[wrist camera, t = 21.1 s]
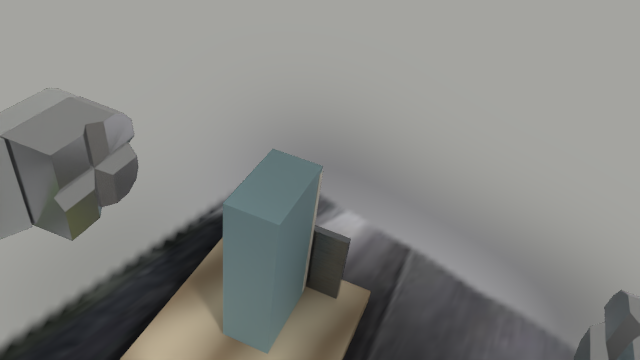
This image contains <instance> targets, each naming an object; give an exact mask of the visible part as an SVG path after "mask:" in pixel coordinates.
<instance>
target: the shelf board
mask: <svg viewBox="0 0 640 360" xmlns="http://www.w3.org/2000/svg"><path fill="white" fill-rule="evenodd" d="M370 293H371V291H369V290H366V289H364V288H361V287H359V286H356V285H354V284H351V283H349V282H346V281H344V280H342V281H341V286H340V290H339V295H338V297H337V299H335V298H333V297H330V296H328V295H325V294H323V293H320V292H318V291H316V290H313V289H311V288H308V287H306V286H305V288H304V292H303V294H302V295H301V297H300V299H299V300H298V302H297V304H296V306H295V307H294V309H293V311H292V312H291V314H290V316H289V318H288V319H287V321H286V323H285V325H284V326H283V328H282V330H281V331H280V333H279V335H278V337H277V338H276V340H275V342H274V344H273V345H272V347H271V349H270V350H269V352H268V354H266V353H264V352H262V351H260V350H258V349H255V348H253V347H251V346H249V345H247V344H244V343H242V342H240V341H238V340H236V339H233V338H231V337H229V336H227V335H225V334H223V237H222V239H221V240H220V241H219V242H218V243H217V245H216V246H215V247H214V248H213V249H212V250H211V252H210V253H209V254H208V255H207V256H206V258H205V259H204V260H203V261H202V262H201V264H200V265H199V266H198V267H197V268H196V270H195V271H194V272H193V273H192V274H191V275H190V277H189V278H188V279H187V280H186V281H185V283H184V284H183V285H182V286H181V287H180V289H179V290H178V291H177V292H176V293H175V295H174V296H173V297H172V298H171V299H170V300H169V302H168V303H167V304H166V305H165V306H164V308H163V309H162V310H161V311H160V312H159V314H158V315H157V316H156V317H155V318H154V320H153V321H152V322H151V323H150V324H149V325H148V327H147V328H146V329H145V330H144V331H143V333H142V334H141V335H140V336H139V337H138V339H137V340H136V341H135V342H134V343H133V345H132V346H131V347H130V348H129V349H128V350H127V352H126V353H125V354H124V355H123V356H122V358H121V359H120V360H343V358H344V356H345V354H346V351H347V349H348V347H349V344H350V342H351V340H352V337H353V335H354V333H355V331H356V328H357V326H358V324H359V321H360V319H361V317H362V315H363V312H364V310H365V308H366V305H367V303H368V300H369V297H370Z"/></svg>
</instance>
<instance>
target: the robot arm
mask: <svg viewBox="0 0 640 360" xmlns="http://www.w3.org/2000/svg"><path fill="white" fill-rule="evenodd" d="M133 137H134V131H133V125H132V120H131V119H130V118H129V117H128V116H127V115H125V114H124V113H122V112H119V111H116V110H114V109H111V108H109V107H106V106H104V105H101V104H98V103H96V102H93V101H90V100H88V99H85V98H83V97H78V96H76V95H74V94H71V93H68V92H65V91H63V90H60V89H55V88H46V89H44V90H43V91H41V92H39V93H37V94H35V95H33V96H31V97H29V98H27V99H25V100H23V101H21V102H19V103H17V104H15V105H13V106H12V107H10V108H8V109H6V110H4V111H2V112H0V239H2V238H5V237H8V236H10V235H13V234H15V233H18V232H21V231H23V230H26V229H29V228H31V227H32V225H35V226H37V227H40V228H42V229H44V230H47V231H50V232H52V233H54V234H57V235H59V236H62V237H65V238H67V239H69V240H72V241H73V240H74V239H75V238H76V237H77V236H79V235H80V234H81V233H82V232H84V231H85V230H86V229H87V228H88V227H89V226H91V225H92V224H93V223H94V222H95V221H97V220H98V219H99V218H100V215H101V209H102V207H104V206H108V205H111V204H115V203H118V202H119V201H120V200H121V199H122V198H123V197H125V196H126V195H127V194H128V193H129V191H130V189H131V188H132V186H133V184H134V182H135V181H136V178H137V171H138V160H137V155H136V154H135V152H134V151H133V149H132V147H131V146H130V144H129V142H130V140H131V139H132V138H133ZM604 309H605V322H603V323H599V324H596V325H592V326H590V328H589V329H588V331H587V332H586V333H585V335H584V336H583V338H582V339H581V341H580V343H579V346H578V349H577V351H576V354H575V356H574V360H640V296H637V295H634V294H631V293H628V292H625V291H622V290H620V291H619V292H618V293H616V294H615V295H613V297H612V298H611V299H610V300H609V302H608V303H607V304H606V306H605V307H604Z"/></svg>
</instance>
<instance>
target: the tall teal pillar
mask: <svg viewBox="0 0 640 360" xmlns="http://www.w3.org/2000/svg"><path fill="white" fill-rule="evenodd" d="M322 168H323V166H321V165H318V164H315V163H312V162H310V161H307V160H304V159H301V158H298V157H295V156H292V155H289V154H287V153H284V152H281V151H278V150H275V149H272V150H271V151H270V152H269V153H268V155H267V156H266V157H265V158H264V159H263V160H262V161H261V162H260V163H259V164H258V166H257V167H256V168H255V169H254V170H253V171H252V172H251V173H250V174H249V175H248V176H247V178H246V179H245V180H244V181H243V182H242V183H241V184H240V185H239V186H238V187H237V188H236V190H235V191H234V192H233V193H232V194H231V195H230V196H229V197H228V198H227V199H226V201H225V202H224V203H223V334H225V335H227V336H229V337H231V338H233V339H236V340H238V341H240V342H242V343H244V344H247V345H249V346H251V347H253V348H255V349H258V350H260V351H262V352H264V353H266V354H268V352H269V350H270V349H271V347H272V345H273V344H274V342H275V340H276V338H277V337H278V335H279V333H280V331H281V330H282V328H283V326H284V325H285V323H286V321H287V319H288V318H289V316H290V314H291V312H292V311H293V309H294V307H295V306H296V304H297V302H298V300H299V299H300V297H301V295H302V294H303V292H304V288H305V286H306V280H307V273H308V266H309V260H310V253H311V247H312V240H313V234H314V227H315V221H316V214H317V208H318V201H319V195H320V188H321V181H322V175H323V171H322Z"/></svg>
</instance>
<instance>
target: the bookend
mask: <svg viewBox="0 0 640 360" xmlns="http://www.w3.org/2000/svg"><path fill="white" fill-rule="evenodd" d="M350 240H351V239H350V238H347V237H345V236H342V235H340V234H337V233H334V232H332V231H329V230H326V229H324V228H321V227H318V226H316V225H315V227H314V234H313V240H312V247H311V253H310V260H309V266H308V273H307V280H306V287H308V288H311V289H313V290H316V291H318V292H320V293H323V294H325V295H328V296H330V297H333V298H335V299H337V297H338V295H339V290H340V286H341V281H342V277H343V272H344V268H345V263H346V258H347V254H348V249H349V245H350Z"/></svg>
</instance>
